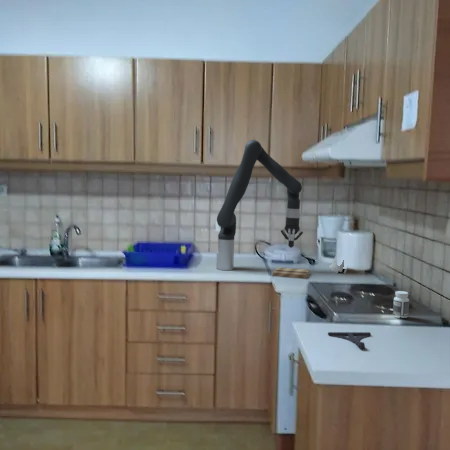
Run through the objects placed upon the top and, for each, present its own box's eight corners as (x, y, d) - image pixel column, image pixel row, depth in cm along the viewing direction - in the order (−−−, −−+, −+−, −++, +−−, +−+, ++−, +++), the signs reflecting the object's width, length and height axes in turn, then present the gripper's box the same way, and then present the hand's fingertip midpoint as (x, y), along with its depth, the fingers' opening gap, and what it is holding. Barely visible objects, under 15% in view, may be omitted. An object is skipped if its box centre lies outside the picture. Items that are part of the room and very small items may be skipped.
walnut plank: (272, 276, 262) (272, 272, 261) (274, 273, 268) (274, 269, 268) (305, 278, 257) (306, 274, 256) (307, 276, 263) (307, 272, 263)
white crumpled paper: (328, 267, 290) (334, 252, 289) (335, 270, 290) (341, 254, 290) (336, 273, 273) (343, 256, 273) (344, 276, 274) (351, 259, 273)
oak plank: (275, 273, 270) (275, 269, 269) (277, 270, 276) (277, 267, 276) (307, 275, 265) (308, 272, 264) (309, 273, 271) (309, 269, 271)
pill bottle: (405, 315, 193) (406, 290, 191) (410, 319, 187) (412, 294, 186) (390, 314, 193) (392, 290, 192) (395, 319, 187) (397, 293, 186)
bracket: (340, 352, 152) (340, 343, 152) (327, 336, 167) (328, 328, 167) (385, 352, 153) (385, 344, 153) (369, 336, 168) (369, 329, 167)
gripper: (279, 216, 270) (278, 247, 272) (303, 218, 266) (301, 249, 268) (282, 215, 277) (280, 245, 279) (305, 217, 274) (303, 247, 275)
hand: (291, 247), depth 274 cm, fingers closed
